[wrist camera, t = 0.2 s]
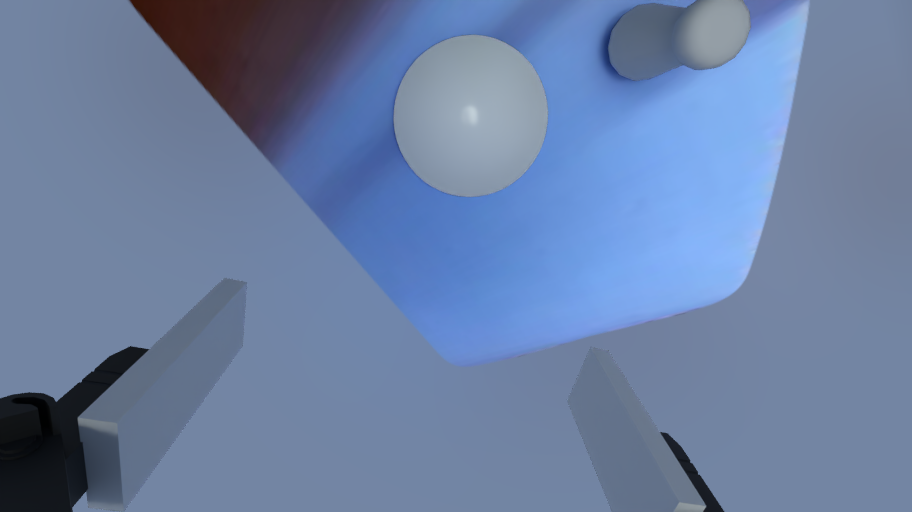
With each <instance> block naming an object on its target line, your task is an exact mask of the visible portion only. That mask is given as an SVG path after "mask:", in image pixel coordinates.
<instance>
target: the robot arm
mask: <svg viewBox="0 0 912 512" xmlns="http://www.w3.org/2000/svg"><path fill="white" fill-rule="evenodd" d="M246 289H247V282H243V281H237V280H233V279H227V278H224V279H223V280H222V281H221V282H220V283H219V284H218V285H217V286H215V287H214V288H213V289H212V290H211V291H210V292H209V293H208V294H207V295H206V296H205V297H204V298H203V299H202V300H201V301H200V302H199V303H198V304H197V305H196V306H194V307H193V309H191V310H190V311H189V312H188V313H187V314H186V315H185V316H184V317H183V318H182V319H181V320H180V321H179V322H178V323H177V324H176V325H175V326H173V327H172V329H170V330H169V331H168V332H167V333H166V334H165V335H164V336H163V337H162V338H161V339H160V340H159V341H158V342H157V343H156V344H154V345H153V346H152V347H151V349H144V348H137V347H131V346H130V347H128V348H126V349H124V350H122V351H120V352H118V353H115V354H113V355H111V356H109V357H108V358H107V359H106V360H105V361H104V362H102V363H101V364H100V365H99V366H98V367H97V368H95V370H94V372H91V373H90V374H88V375H87V376H86V377H85V378H84V379H83V380H82V382H81V383H78V384H77V385H76V386H74V388H72V389H71V390H70V391H69V392H67V393H66V394H65V395H64V396H63V397H62V398H60V399H59V400H58V401H57V402H56V401H55V400H54V398H53V397H50V396H48V395H46V394H43V393H30V392H29V393H22V394H14V395H10V396H7V397H4V398H0V512H73V511H72V507H73V506H74V505H75V504H76V502H77V501H78V500H79V499H80V498H81V496H82V495H83V494H84V493H85V492H87V501H88V508H95V509H104V510H113V511H121V512H124V511H125V510H126V508H127V507H128V505H129V504H130V503H131V501H132V500H133V498H134V497H135V496H136V494H137V493H138V491H139V490H140V488H141V487H142V486H143V484H144V483H145V481H146V480H147V478H148V477H149V476H150V475H151V473H152V472H153V470H154V469H155V468H156V466H157V465H158V463H159V462H160V461H161V459H162V458H163V457H164V455H165V454H166V452H167V451H168V449H169V448H170V447H171V445H172V444H173V443H174V441H175V440H176V438H177V437H178V436H179V434H180V433H181V431H182V430H183V429H184V427H185V426H186V424H187V423H188V422H189V420H190V419H191V418H192V416H193V415H194V413H195V412H196V410H197V409H198V408H199V406H200V405H201V403H202V402H203V401H204V399H205V398H206V397H207V395H208V394H209V392H210V391H211V390H212V388H213V387H214V385H215V384H216V383H217V381H218V380H219V378H220V377H221V376H222V374H223V373H224V372H225V370H226V369H227V367H228V366H229V364H230V363H231V362H232V360H233V359H234V357H235V356H236V355H237V353H238V352H239V351H240V349H241V348H242V346H243V335H244V319H245V303H246ZM567 402H568V404H569V407H570V409H571V412H572V414H573V417H574V419H575V422H576V424H577V426H578V429H579V432H580V434H581V436H582V439H583V441H584V444H585V446H586V449H587V451H588V454H589V456H590V459H591V461H592V464H593V466H594V469H595V471H596V474H597V476H598V478H599V481H600V483H601V486H602V488H603V491H604V493H605V496H606V498H607V501H608V503H609V506H610V508H611V511H612V512H724V511H723V509H722V508H721V506H720V505H719V503H718V502H717V500H716V498H715V497H714V496H713V494H712V493H711V491H710V490H709V488H708V486H707V485H706V484H705V482H704V480H703V479H702V478H701V476H700V475H698V471H697V470H696V468H695V467H694V465H693V464H692V463H690V459H689V458H688V456H687V455H686V453H685V452H684V450H683V449H682V447H681V446H680V445H679V444H678V443H677V442H676V441H675V440H673V438H672V437H671V436H669V435H668V434H667V433H662V432H659V430H658V428H657V427H656V425H655V424H654V422H653V421H652V419H651V417H650V416H649V414H648V413H647V411H646V410H645V408H644V406H643V405H642V403H641V402H640V400H639V398H638V397H637V395H636V394H635V392H634V390H633V389H632V387H631V386H630V384H629V383H628V381H627V379H626V378H625V376H624V375H623V373H622V372H621V370H620V368H619V367H618V365H617V364H616V362H615V360H614V359H613V357H612V356H611V354H610V352H609V351H608V350H603V349H598V348H592V347H590V349H589V352H588V354H587V356H586V359H585V361H584V363H583V365H582V368H581V370H580V373H579V375H578V377H577V379H576V382H575V384H574V386H573V388H572V391H571V393H570V395H569V398H568V400H567Z"/></svg>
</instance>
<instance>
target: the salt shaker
mask: <svg viewBox="0 0 912 512" xmlns="http://www.w3.org/2000/svg"><path fill="white" fill-rule="evenodd" d="M750 28H751V25H750V12H749V10H748V8H747V6H746V5H745V3H744V1H743V0H697V1H695V2H694V3H692V4H691V5H689V6H688V7H687V8H683V7H677V6H670V5H663V4H656V3H651V4H641V5H637V6H636V7H634V8H633V9H631V10H630V11H629V12H627V13H626V14H624V15H623V16H622V17H621V18H620V20H619V21H618V22H617V24H616V25H615V27H614V28H613V30H612V31H611V36H610V41H609V45H608V52H609V57H610V63H611V65H612V66H613V67H614V68H615V70H616V71H617V72H618V74H619V75H621V76H623V77H626V78H628V79H631V80H633V81H639V80H646V79H651V78H653V77H656V76H658V75H661V74H663V73H665V72H668V71H670V70H672V69H675V68H677V67H679V66H682V65H684V66H687V67H689V68H691V69H694V70H705V69H712V68H716V67H719V66H722V65H723V64H725V63H727V62H728V61H730V60H732V59H733V58H735V56H736V55H737V54H738V53H739V51H740V50H741V49H742V47H743V46H744V45H745V43H746V40H747V37H748V34H749V31H750Z"/></svg>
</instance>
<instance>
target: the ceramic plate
mask: <svg viewBox="0 0 912 512" xmlns="http://www.w3.org/2000/svg"><path fill="white" fill-rule="evenodd" d="M547 123H548V107H547V99H546V95H545V91H544V88H543V85H542V82H541V80H540V78H539V76H538V74H537V72H536V71H535V69H534V68H533V66H532V65H531V64H530V62H529V61H528V60H527V59H526V58H525V57H524V56H523V55H522V54H521V53H520V52H518V51H517V50H516V49H515V48H513V47H512V46H510V45H508V44H507V43H505V42H502V41H500V40H497V39H495V38H491V37H487V36H481V35H462V36H457V37H452V38H450V39H447V40H444V41H441V42H440V43H438V44H436V45H434V46H432V47H431V48H429V49H428V50H426V51H425V52H424V53H423V54H422V55H421V56H419V57H418V58H417V59H416V60H415V62H414V63H413V64H412V65H411V67H410V68H409V69H408V71H407V72H406V74H405V76H404V77H403V79H402V82H401V84H400V86H399V89H398V92H397V96H396V99H395V106H394V130H395V135H396V139H397V143H398V145H399V148H400V151H401V153H402V155H403V157H404V159H405V160H406V162H407V163H408V165H409V166H410V168H411V169H412V170H413V171H414V172H415V173H416V174H417V176H419V177H420V178H421V179H422V180H423V181H424V182H426V183H427V184H429V185H430V186H432V187H433V188H435V189H437V190H440V191H442V192H445V193H447V194H450V195H455V196H462V197H477V196H483V195H488V194H491V193H494V192H497V191H499V190H502V189H504V188H506V187H507V186H509V185H511V184H512V183H514V182H515V181H516V180H517V179H519V178H520V177H521V176H522V175H523V174H524V173H525V172H526V171H527V170H528V169H529V167H530V166H531V165H532V163H533V162H534V160H535V159H536V157H537V155H538V153H539V151H540V149H541V147H542V144H543V142H544V138H545V135H546V130H547Z"/></svg>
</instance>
